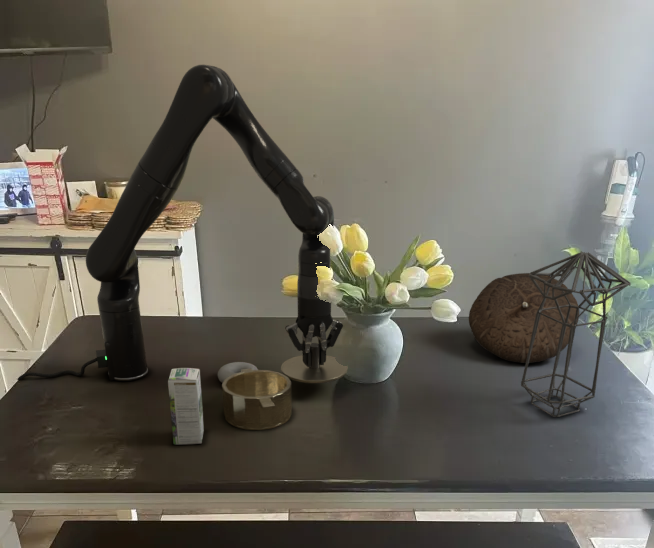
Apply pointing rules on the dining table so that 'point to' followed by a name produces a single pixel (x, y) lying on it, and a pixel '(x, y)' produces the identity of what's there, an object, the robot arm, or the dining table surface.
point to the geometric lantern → (569, 267)
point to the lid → (313, 368)
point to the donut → (233, 369)
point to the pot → (257, 399)
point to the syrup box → (186, 406)
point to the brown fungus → (519, 318)
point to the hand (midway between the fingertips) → (314, 364)
